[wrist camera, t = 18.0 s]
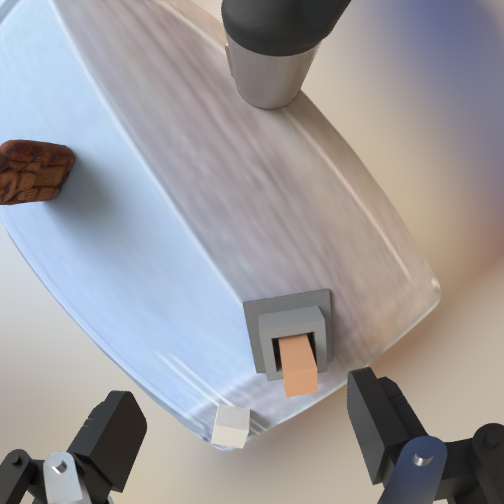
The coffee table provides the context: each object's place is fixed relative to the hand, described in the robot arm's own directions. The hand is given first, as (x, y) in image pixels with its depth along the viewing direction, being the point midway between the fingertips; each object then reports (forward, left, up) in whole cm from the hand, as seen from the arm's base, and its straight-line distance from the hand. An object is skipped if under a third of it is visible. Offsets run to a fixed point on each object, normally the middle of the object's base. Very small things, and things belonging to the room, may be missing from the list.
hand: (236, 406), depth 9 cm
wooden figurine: (-32, -16, -32) cm, 48 cm away
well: (+15, -6, -32) cm, 36 cm away
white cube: (+22, -27, -32) cm, 48 cm away
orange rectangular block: (+15, -6, -31) cm, 35 cm away
